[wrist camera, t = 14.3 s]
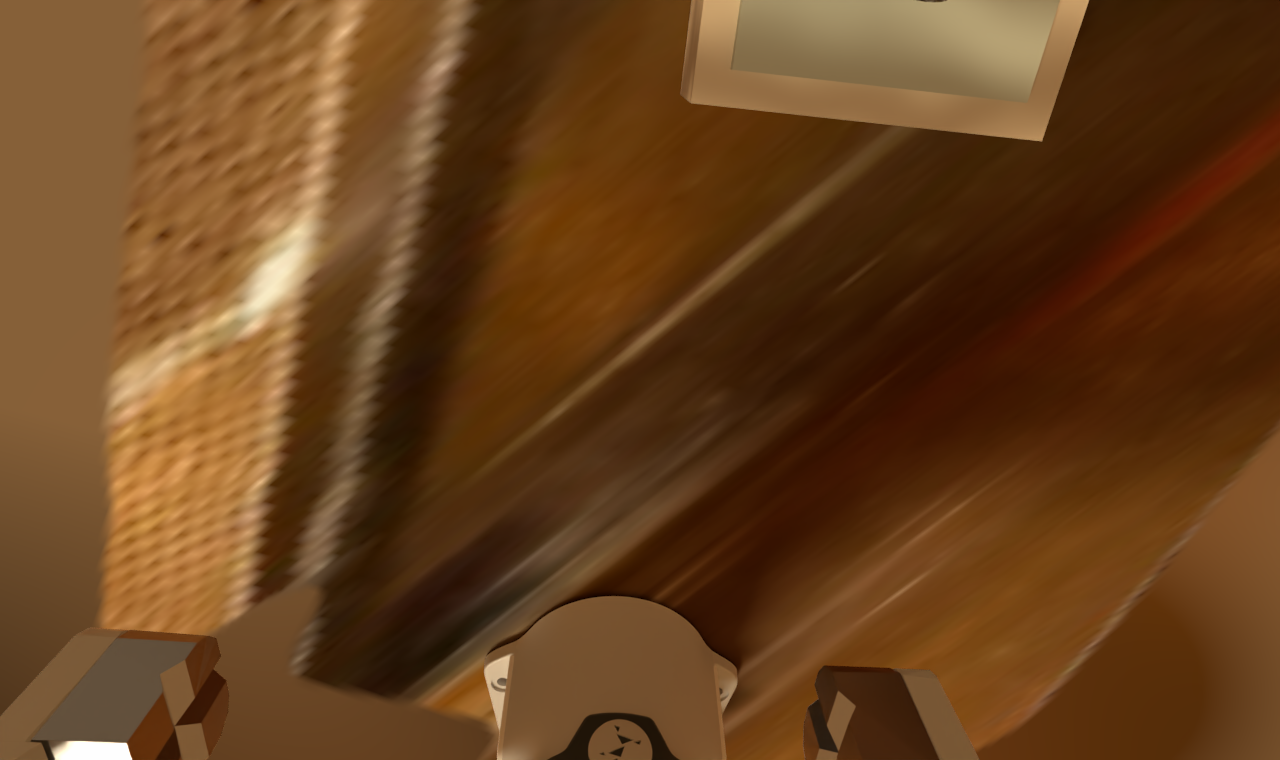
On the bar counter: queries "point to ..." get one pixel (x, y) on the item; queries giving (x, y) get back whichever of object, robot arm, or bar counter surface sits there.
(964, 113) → the tan square lid
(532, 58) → the bar counter surface
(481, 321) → the bar counter surface
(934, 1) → the cup
